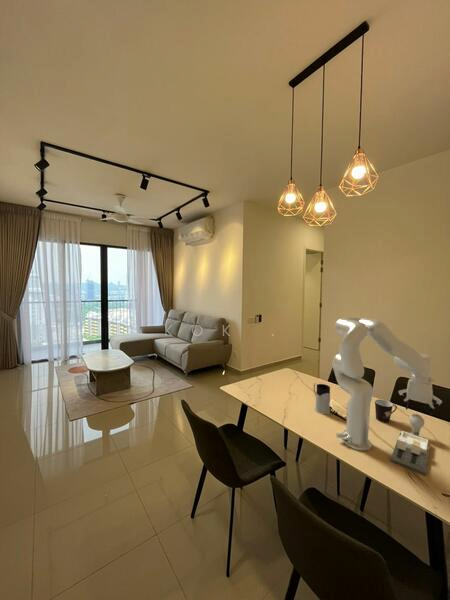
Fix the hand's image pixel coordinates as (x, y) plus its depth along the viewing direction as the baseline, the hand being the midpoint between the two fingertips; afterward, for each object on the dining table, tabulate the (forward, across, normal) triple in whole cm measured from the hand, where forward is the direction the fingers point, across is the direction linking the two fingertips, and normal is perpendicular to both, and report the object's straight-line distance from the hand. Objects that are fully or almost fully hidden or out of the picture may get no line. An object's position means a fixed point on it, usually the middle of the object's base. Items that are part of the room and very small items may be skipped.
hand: (418, 411), depth 127 cm
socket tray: (+11, +1, +11) cm, 16 cm away
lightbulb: (+13, +1, +1) cm, 13 cm away
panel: (+12, +1, +18) cm, 22 cm away
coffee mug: (+13, +15, -6) cm, 20 cm away
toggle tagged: (+11, -1, +19) cm, 21 cm away
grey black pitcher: (+12, +47, +7) cm, 49 cm away
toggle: (+11, +4, +19) cm, 23 cm away
